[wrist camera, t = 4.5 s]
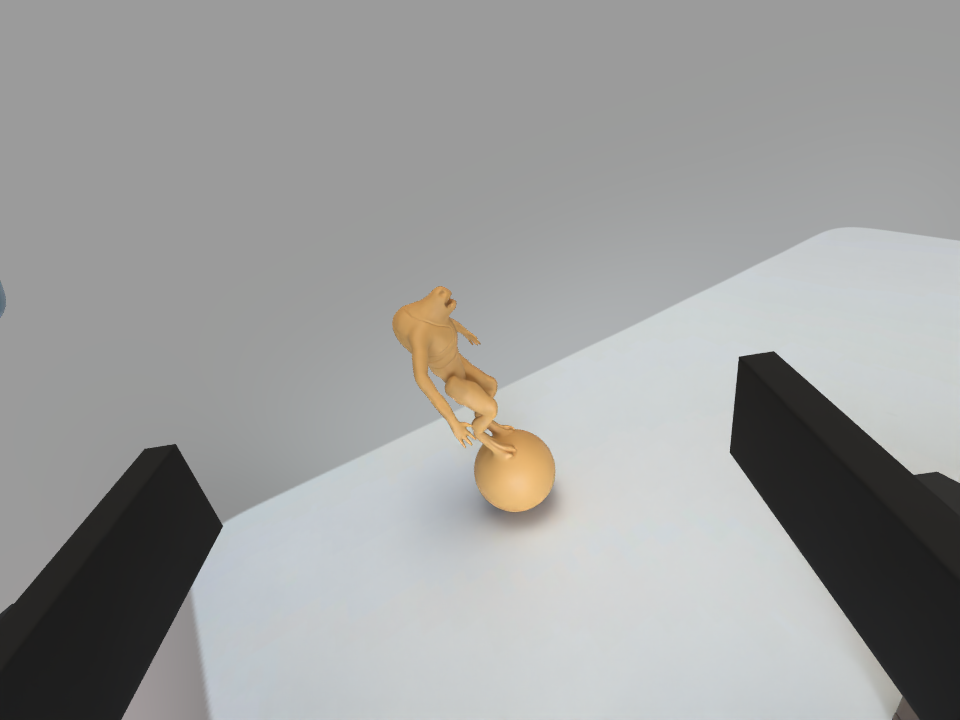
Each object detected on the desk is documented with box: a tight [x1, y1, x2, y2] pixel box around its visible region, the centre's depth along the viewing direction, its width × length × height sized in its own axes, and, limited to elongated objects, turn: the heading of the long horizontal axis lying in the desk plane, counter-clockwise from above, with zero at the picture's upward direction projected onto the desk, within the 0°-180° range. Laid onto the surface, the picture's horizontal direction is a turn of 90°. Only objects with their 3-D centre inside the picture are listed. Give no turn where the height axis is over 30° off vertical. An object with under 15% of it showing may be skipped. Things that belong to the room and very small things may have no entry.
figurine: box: [392, 286, 555, 512], centre depth 23 cm, size 8×6×12 cm
